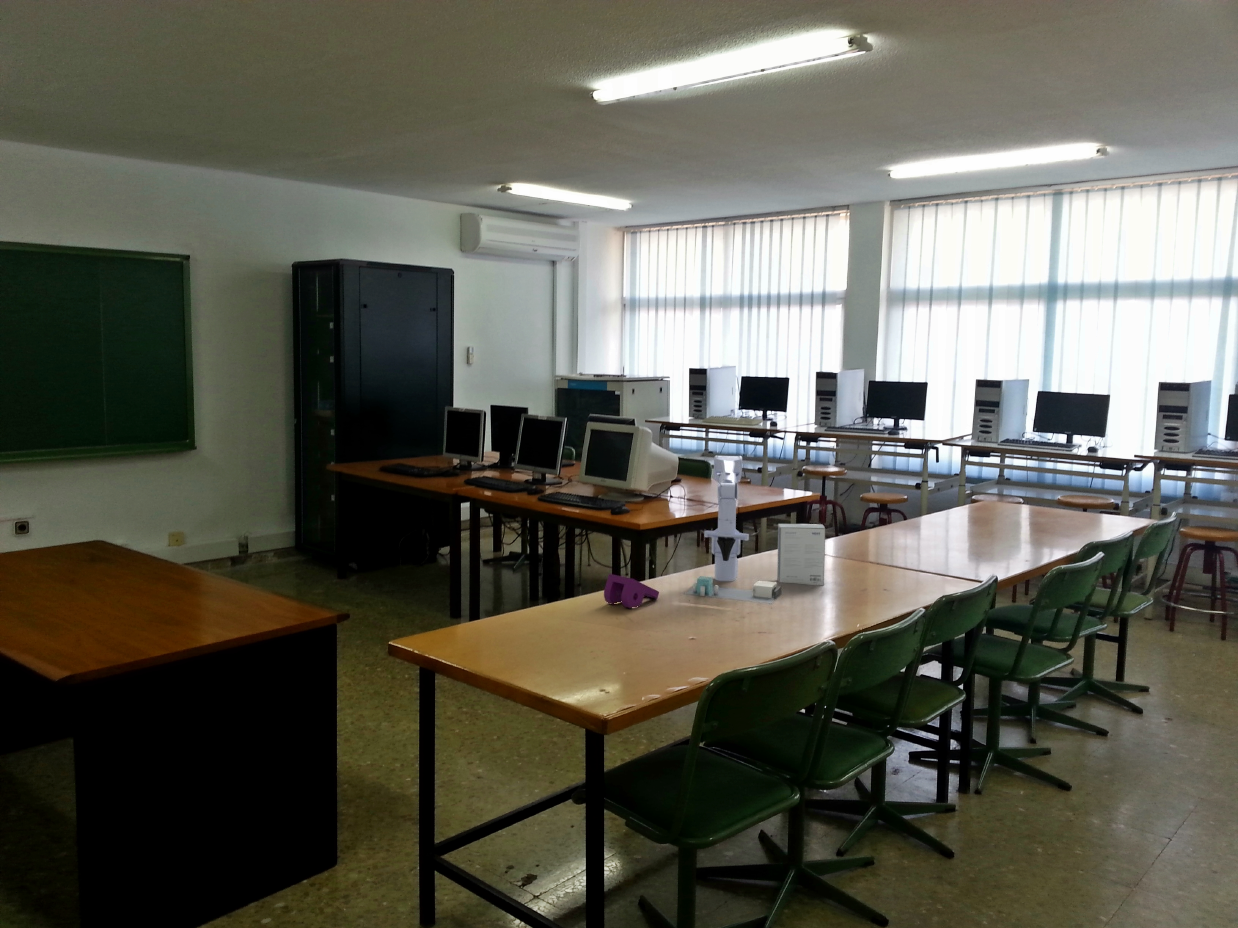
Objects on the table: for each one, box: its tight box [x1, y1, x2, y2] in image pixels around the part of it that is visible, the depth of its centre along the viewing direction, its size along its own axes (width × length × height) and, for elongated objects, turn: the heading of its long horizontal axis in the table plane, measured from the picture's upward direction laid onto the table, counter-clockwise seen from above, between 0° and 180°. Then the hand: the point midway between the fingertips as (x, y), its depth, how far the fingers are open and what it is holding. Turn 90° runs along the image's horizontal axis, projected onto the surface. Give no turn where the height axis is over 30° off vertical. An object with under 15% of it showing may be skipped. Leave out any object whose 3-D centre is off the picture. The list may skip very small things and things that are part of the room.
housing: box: [752, 580, 778, 598], centre depth 300 cm, size 7×6×4 cm
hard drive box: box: [776, 523, 826, 586], centre depth 320 cm, size 16×8×20 cm, turn 84°
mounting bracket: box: [603, 573, 660, 609], centre depth 291 cm, size 9×8×18 cm
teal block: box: [696, 575, 714, 595], centre depth 301 cm, size 4×4×5 cm
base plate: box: [684, 582, 782, 605], centre depth 301 cm, size 15×28×4 cm, turn 68°
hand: (725, 560), depth 306 cm, fingers closed
